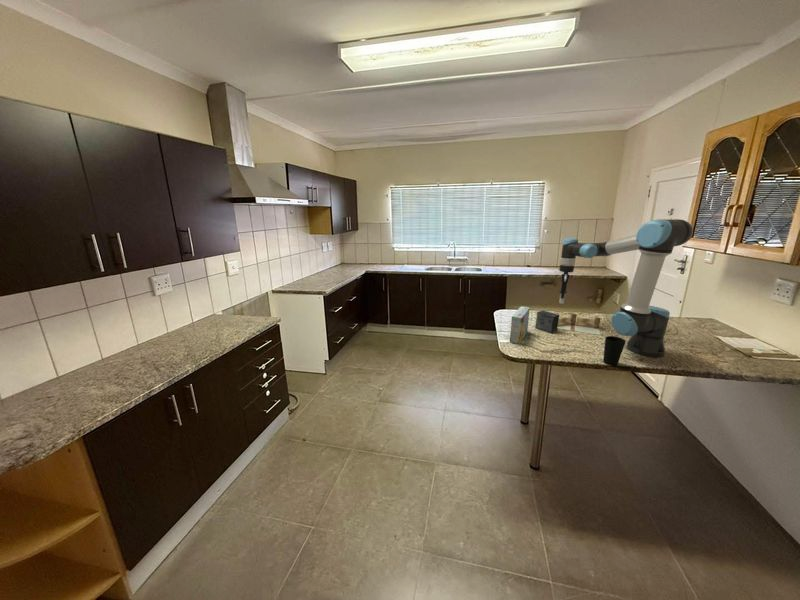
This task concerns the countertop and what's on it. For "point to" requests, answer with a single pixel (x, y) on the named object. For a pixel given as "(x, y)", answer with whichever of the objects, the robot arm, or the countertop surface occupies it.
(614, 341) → the cup
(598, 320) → the fence fixed
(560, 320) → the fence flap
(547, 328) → the small box
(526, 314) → the snack box
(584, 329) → the card
